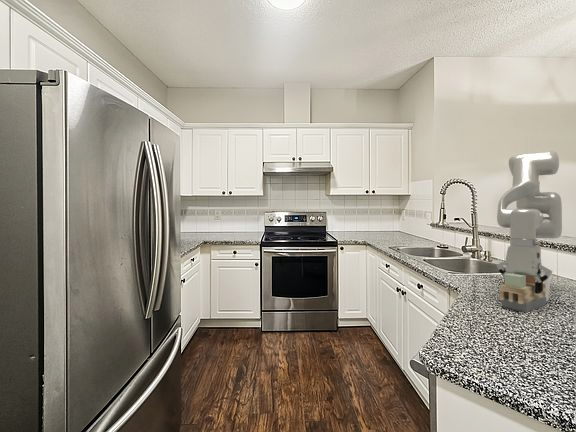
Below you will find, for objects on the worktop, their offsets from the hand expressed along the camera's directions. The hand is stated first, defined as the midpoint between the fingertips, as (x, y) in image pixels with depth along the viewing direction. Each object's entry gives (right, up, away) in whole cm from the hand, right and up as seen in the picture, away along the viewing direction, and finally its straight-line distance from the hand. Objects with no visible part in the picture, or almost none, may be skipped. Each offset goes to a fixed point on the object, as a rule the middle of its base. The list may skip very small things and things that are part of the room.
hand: (522, 290), depth 118 cm
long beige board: (0, -3, 0) cm, 3 cm away
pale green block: (-5, +2, -3) cm, 6 cm away
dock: (+1, -6, +1) cm, 6 cm away
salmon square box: (+5, +2, +3) cm, 6 cm away
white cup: (+12, -6, +8) cm, 16 cm away
